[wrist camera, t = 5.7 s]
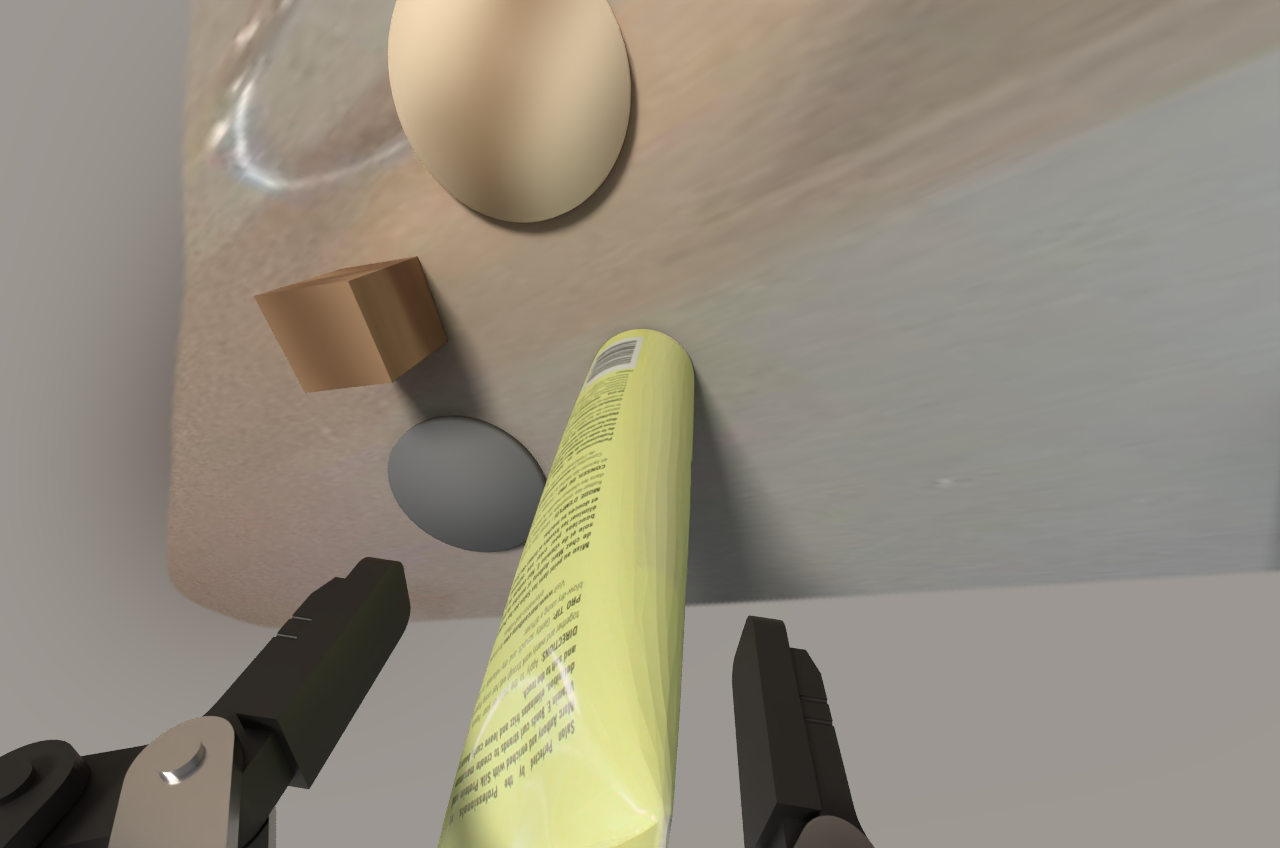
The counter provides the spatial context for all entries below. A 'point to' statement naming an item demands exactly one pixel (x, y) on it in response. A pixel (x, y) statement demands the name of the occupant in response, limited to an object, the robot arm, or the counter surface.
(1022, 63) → the counter surface
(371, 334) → the walnut block
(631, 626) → the tube
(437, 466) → the pad
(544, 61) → the pad
